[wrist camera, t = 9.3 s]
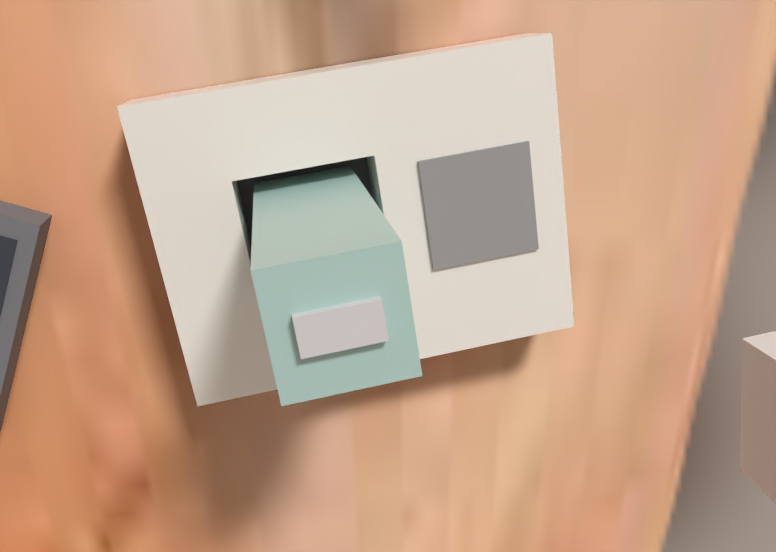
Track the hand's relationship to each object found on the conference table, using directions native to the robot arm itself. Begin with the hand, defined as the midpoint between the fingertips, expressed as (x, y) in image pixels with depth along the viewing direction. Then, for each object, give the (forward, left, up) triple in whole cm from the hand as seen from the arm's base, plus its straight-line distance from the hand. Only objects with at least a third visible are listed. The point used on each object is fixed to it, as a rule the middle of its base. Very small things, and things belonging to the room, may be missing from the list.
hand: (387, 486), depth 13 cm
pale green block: (0, 0, -20) cm, 20 cm away
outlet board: (0, +2, -20) cm, 20 cm away
